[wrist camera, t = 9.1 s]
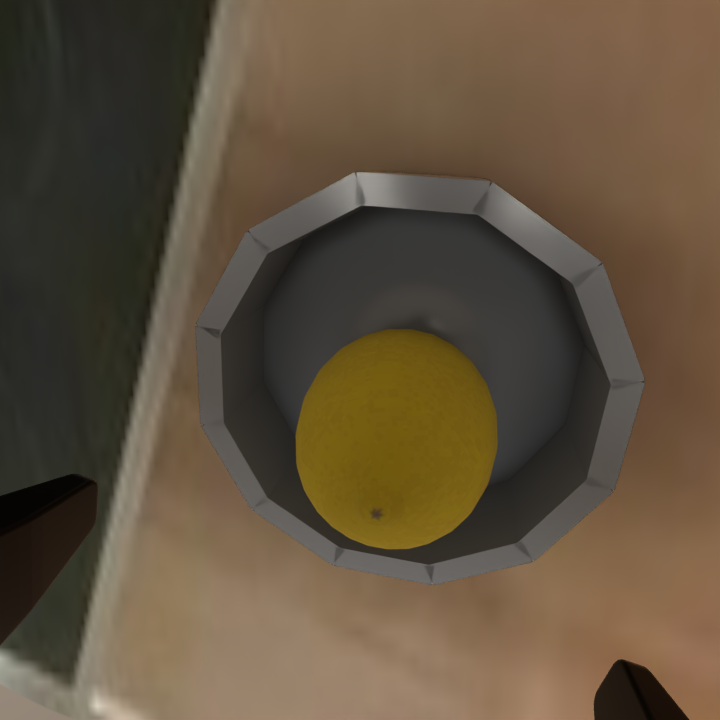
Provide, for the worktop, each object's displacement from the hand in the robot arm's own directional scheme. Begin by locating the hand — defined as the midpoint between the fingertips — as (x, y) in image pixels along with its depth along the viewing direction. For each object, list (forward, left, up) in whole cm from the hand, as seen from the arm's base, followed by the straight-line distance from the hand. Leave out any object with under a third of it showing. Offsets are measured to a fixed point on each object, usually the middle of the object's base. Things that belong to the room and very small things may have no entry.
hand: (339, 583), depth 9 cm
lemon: (-1, 0, -11) cm, 11 cm away
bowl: (0, 0, -12) cm, 12 cm away
